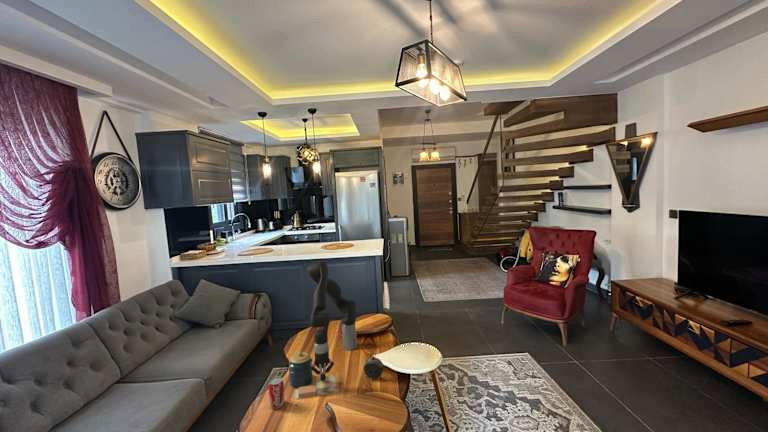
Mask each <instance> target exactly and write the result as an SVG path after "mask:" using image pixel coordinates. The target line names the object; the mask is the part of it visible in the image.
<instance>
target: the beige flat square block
mask: <svg viewBox="0 0 768 432" xmlns="http://www.w3.org/2000/svg"><path fill="white" fill-rule="evenodd" d="M314 379H315V381H314V382H315V385H316V391H317V395H316V396H318V397H319V396H324V395H329V394H333V393H338V392H339V384H338V381H337V376H336V374H331V375H326V379H325V381H322V380H320V376H319V377H316V378H314Z"/></svg>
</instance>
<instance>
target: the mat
mask: <svg viewBox="0 0 768 432" xmlns="http://www.w3.org/2000/svg"><path fill="white" fill-rule="evenodd" d="M298 393H299V388H296V389H294V396H295V400H299V399H305V398H309V397H313V396H317V391H316V395H312V396H306V397H300V398H299V395H298Z"/></svg>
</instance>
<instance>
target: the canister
mask: <svg viewBox="0 0 768 432" xmlns="http://www.w3.org/2000/svg"><path fill="white" fill-rule="evenodd" d="M312 362H313V358H312V356H311V354H310V353H308V352H305V351H302V350H301V351H298V352H296V353H294V354H293V355H292V356H291V357H290V358H289V361H288V366H289V368H288V372H289V374H288V375H289V384H290V385H289V386H291V387H292V388H294V389H295V388H296V389H299V387H304V386H310V385H312V384H311V383H312V382H313V380H314V375H313V372H314V371H313V370H312V369H311V365H313V363H312Z"/></svg>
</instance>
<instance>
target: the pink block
mask: <svg viewBox="0 0 768 432" xmlns="http://www.w3.org/2000/svg"><path fill="white" fill-rule="evenodd" d="M298 389H299V393H298V395H299V398H300V397H305V398H307V397H306V396H310V397H313V396H312V395H314V396H317V395H316V384H309V385H308V386H304V387H299V388H298ZM300 399H301V398H300Z"/></svg>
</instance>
